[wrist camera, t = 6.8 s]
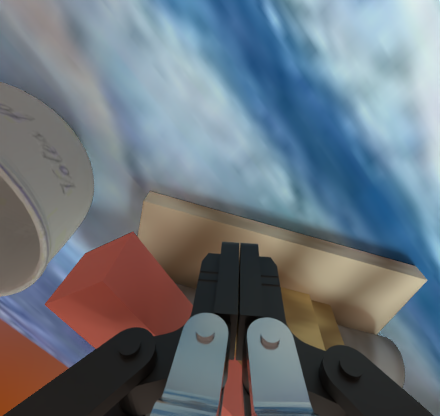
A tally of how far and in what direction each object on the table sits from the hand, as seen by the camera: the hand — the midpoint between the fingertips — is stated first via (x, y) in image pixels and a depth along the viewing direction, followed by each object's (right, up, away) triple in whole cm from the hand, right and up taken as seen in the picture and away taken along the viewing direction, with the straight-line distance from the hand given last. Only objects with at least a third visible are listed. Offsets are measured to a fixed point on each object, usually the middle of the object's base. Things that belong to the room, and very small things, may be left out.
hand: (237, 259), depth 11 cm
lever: (-1, -5, +2) cm, 6 cm away
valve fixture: (+2, -6, +12) cm, 14 cm away
